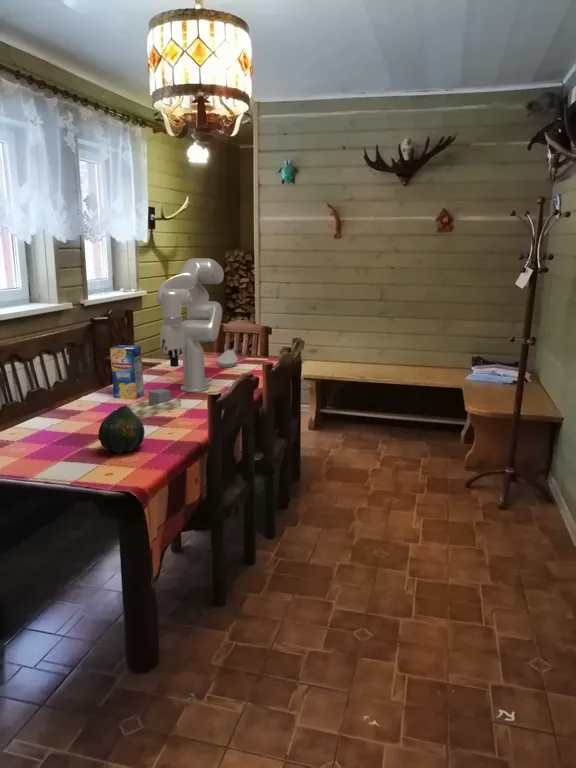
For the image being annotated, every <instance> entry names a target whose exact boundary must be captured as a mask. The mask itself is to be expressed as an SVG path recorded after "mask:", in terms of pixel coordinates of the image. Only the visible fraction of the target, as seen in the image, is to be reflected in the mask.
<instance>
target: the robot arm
mask: <svg viewBox="0 0 576 768" xmlns="http://www.w3.org/2000/svg"><path fill="white" fill-rule="evenodd" d="M224 277H225V273H224V269H223V267H222V266H221V265H220V264H219V263H218V262H217V261H216V260H214V259H212V258H209V257H207V258H204V257H203V258H201V257H199V258H197V257H196V258H194V257H193V258H189V259H187V260H186V261H185V262H184V263H183V266H182V267H181V269H180V271H179V273H178V274H176V275H174V276H172V277H169V278H168V279H165V280H164V281H163V282H162V283H161V285H160V286H159V288H158V290H157V292H156V299H155V300H156V303H157V305H159V306H160V307H161V312H162V325H160V326H161V327H160V331H159V333H160V335H159V347H160V350H162V353H163V354H166V355H168V358H169V363H170V364H169V366H170V367H174V368H177V367H179V357H180V354H181V352H182V369H183V370H182V371H183V374H182V375H183V385H181V386H180V390H181V391H183V392H187V393H198V392H199V393H200V392H205V391H207V390H209V388H210V387H209V386H210V385H208V383H210V382H213V378H212V377H210V376H209V377H205V376H206V374H205V372H206V371H205V352H204V349H203V346H202V345H201V344H200V343H201V342H209V343H210V342H214V341H216V340H217V339H218V337H219V332H220V328H221V323H222V318H223V308H222V305H221V304H220V303H219V302H218V301H210V300H209V299H210V294H209V293H208V291H207V290H206V288H205V287H204V286H202V285H218V284H221V283H222V282H223V281H224ZM186 307H187V309H186V318H187V319H186V320H184V319H183V316H182V308H186Z"/></svg>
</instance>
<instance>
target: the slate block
mask: <svg viewBox="0 0 576 768" xmlns="http://www.w3.org/2000/svg"><path fill="white" fill-rule="evenodd" d="M148 400H149V405H150V406H153V405H157V404H160V403H164V402H167V401H170V400H172V399H171V390H169V389H164V388H157V389H152V390H149V391H148Z"/></svg>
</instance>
